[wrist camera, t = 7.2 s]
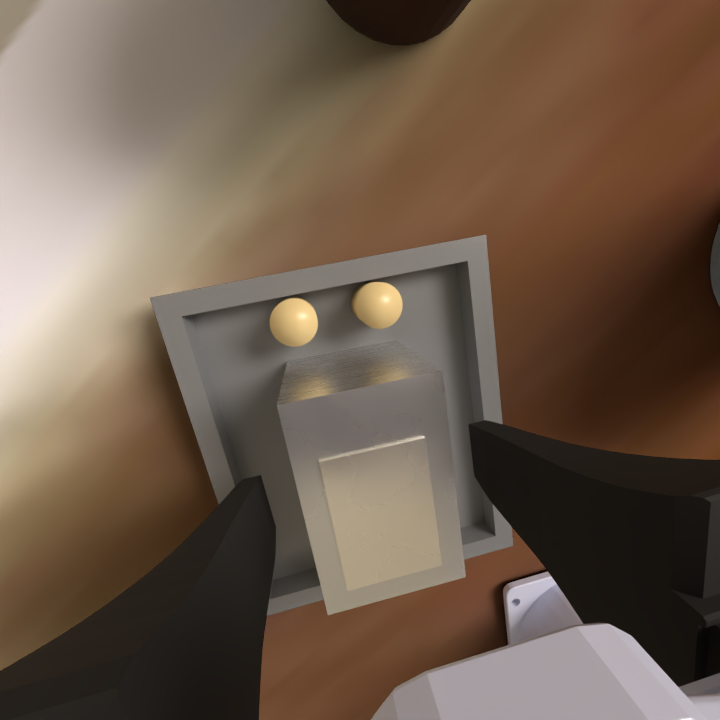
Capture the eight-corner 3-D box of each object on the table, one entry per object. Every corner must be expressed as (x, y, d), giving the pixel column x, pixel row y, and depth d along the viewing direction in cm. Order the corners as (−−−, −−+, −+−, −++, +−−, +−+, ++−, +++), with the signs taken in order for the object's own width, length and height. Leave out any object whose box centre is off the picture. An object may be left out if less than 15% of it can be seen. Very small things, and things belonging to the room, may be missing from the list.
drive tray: (493, 519, 18) (523, 558, 16) (261, 583, 17) (253, 637, 14) (464, 239, 15) (497, 232, 12) (170, 295, 13) (138, 299, 11)
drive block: (418, 487, 16) (467, 579, 11) (321, 510, 16) (328, 618, 11) (396, 339, 14) (443, 371, 9) (287, 361, 14) (276, 406, 9)
